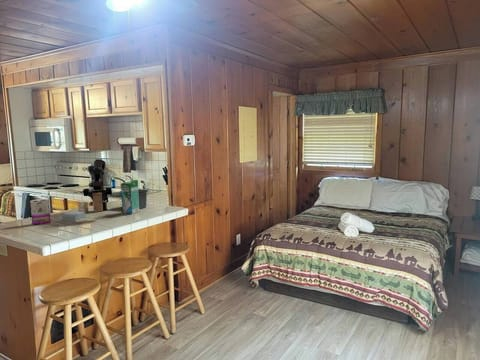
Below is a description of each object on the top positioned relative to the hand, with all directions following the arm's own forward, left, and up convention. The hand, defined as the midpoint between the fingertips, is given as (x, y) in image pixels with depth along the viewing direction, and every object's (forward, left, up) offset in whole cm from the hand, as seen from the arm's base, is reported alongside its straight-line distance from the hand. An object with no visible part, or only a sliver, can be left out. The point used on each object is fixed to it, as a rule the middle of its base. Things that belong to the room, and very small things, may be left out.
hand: (97, 201), depth 245 cm
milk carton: (-28, +2, -13) cm, 31 cm away
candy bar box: (+23, -29, -13) cm, 39 cm away
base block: (+5, -20, -14) cm, 25 cm away
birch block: (-13, -33, -13) cm, 38 cm away
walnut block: (-1, -1, -7) cm, 7 cm away
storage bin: (-45, -10, -14) cm, 48 cm away
